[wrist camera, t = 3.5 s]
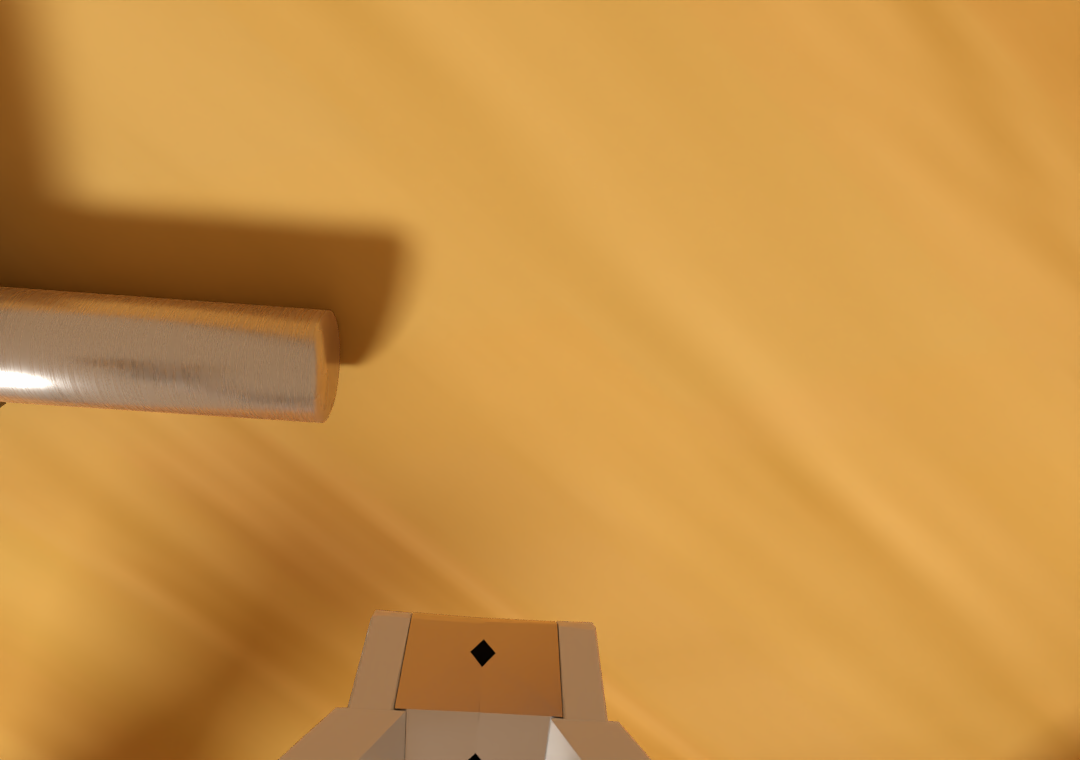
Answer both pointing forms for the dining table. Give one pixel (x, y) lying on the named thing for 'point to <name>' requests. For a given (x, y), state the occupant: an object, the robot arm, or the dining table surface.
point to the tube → (167, 355)
